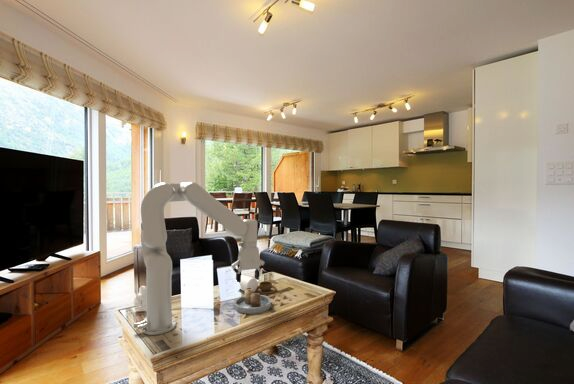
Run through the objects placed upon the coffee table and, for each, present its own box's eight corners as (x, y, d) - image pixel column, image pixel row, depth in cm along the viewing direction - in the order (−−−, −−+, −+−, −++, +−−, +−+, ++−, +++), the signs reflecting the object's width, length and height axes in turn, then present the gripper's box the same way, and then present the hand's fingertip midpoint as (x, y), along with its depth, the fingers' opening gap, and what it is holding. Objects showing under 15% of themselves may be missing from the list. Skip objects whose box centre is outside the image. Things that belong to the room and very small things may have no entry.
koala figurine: (152, 311, 136) (152, 285, 136) (136, 315, 132) (136, 288, 132) (148, 305, 143) (147, 281, 143) (133, 309, 139) (132, 284, 139)
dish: (243, 317, 129) (243, 311, 129) (227, 304, 144) (227, 299, 144) (277, 307, 139) (277, 302, 139) (259, 296, 154) (259, 292, 154)
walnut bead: (253, 309, 135) (253, 296, 135) (249, 306, 139) (249, 294, 139) (262, 307, 138) (262, 294, 138) (257, 304, 142) (257, 292, 142)
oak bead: (247, 305, 141) (247, 292, 141) (243, 302, 145) (242, 289, 145) (255, 302, 144) (255, 290, 144) (251, 300, 148) (251, 288, 148)
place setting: (282, 294, 158) (282, 284, 158) (247, 301, 149) (247, 290, 149) (269, 285, 174) (269, 275, 174) (236, 291, 164) (236, 280, 164)
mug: (247, 294, 157) (247, 280, 157) (235, 290, 163) (235, 276, 163) (263, 289, 166) (263, 275, 166) (251, 285, 173) (251, 272, 172)
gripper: (235, 247, 132) (234, 285, 132) (268, 244, 142) (267, 280, 142) (229, 244, 139) (227, 280, 138) (261, 242, 148) (259, 276, 148)
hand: (247, 280), depth 140 cm, fingers open, 9 cm apart
